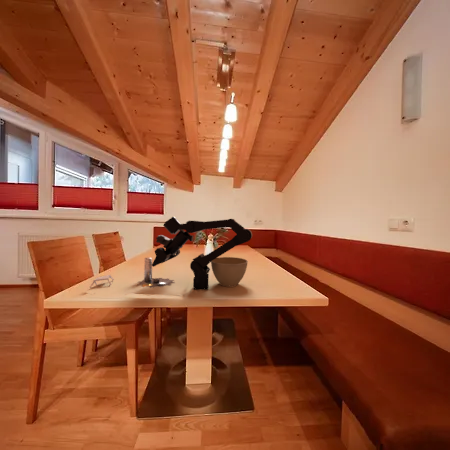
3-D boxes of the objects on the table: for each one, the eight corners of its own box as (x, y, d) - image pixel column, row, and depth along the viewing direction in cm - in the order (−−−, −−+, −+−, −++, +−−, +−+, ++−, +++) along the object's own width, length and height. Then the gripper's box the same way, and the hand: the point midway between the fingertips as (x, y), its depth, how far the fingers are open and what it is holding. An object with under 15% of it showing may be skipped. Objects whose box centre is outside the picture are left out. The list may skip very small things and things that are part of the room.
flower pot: (222, 277, 132) (223, 255, 131) (252, 283, 122) (253, 259, 122) (202, 285, 116) (203, 260, 116) (235, 292, 107) (236, 265, 106)
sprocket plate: (177, 281, 122) (177, 275, 122) (171, 291, 105) (171, 284, 105) (143, 280, 122) (143, 274, 122) (131, 290, 105) (131, 283, 105)
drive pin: (152, 279, 118) (153, 257, 118) (150, 281, 114) (151, 258, 114) (145, 279, 118) (145, 257, 118) (143, 281, 114) (143, 258, 114)
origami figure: (108, 292, 102) (108, 280, 102) (88, 291, 102) (88, 280, 101) (119, 284, 114) (119, 274, 114) (101, 284, 114) (101, 273, 113)
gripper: (173, 228, 123) (154, 250, 125) (158, 230, 105) (135, 254, 107) (188, 244, 122) (168, 265, 124) (176, 248, 104) (152, 273, 106)
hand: (156, 264), depth 115 cm, fingers open, 9 cm apart
